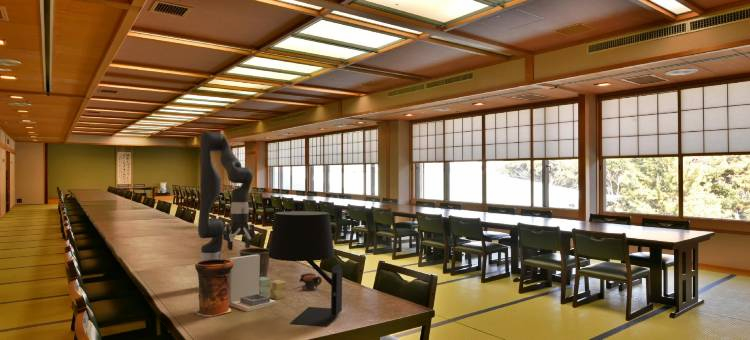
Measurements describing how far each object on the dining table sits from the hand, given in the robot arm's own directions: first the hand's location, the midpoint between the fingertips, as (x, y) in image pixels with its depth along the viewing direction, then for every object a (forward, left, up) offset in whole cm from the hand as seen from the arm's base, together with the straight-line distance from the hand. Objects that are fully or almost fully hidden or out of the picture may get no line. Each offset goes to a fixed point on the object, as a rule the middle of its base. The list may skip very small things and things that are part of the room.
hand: (238, 248), depth 198 cm
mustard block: (+11, +14, -22) cm, 28 cm away
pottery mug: (+9, +35, -22) cm, 42 cm away
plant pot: (-22, +25, -22) cm, 40 cm away
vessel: (+10, -17, -22) cm, 30 cm away
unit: (+13, -1, -22) cm, 25 cm away
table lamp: (+40, +4, -22) cm, 46 cm away
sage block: (+1, +13, -22) cm, 25 cm away
